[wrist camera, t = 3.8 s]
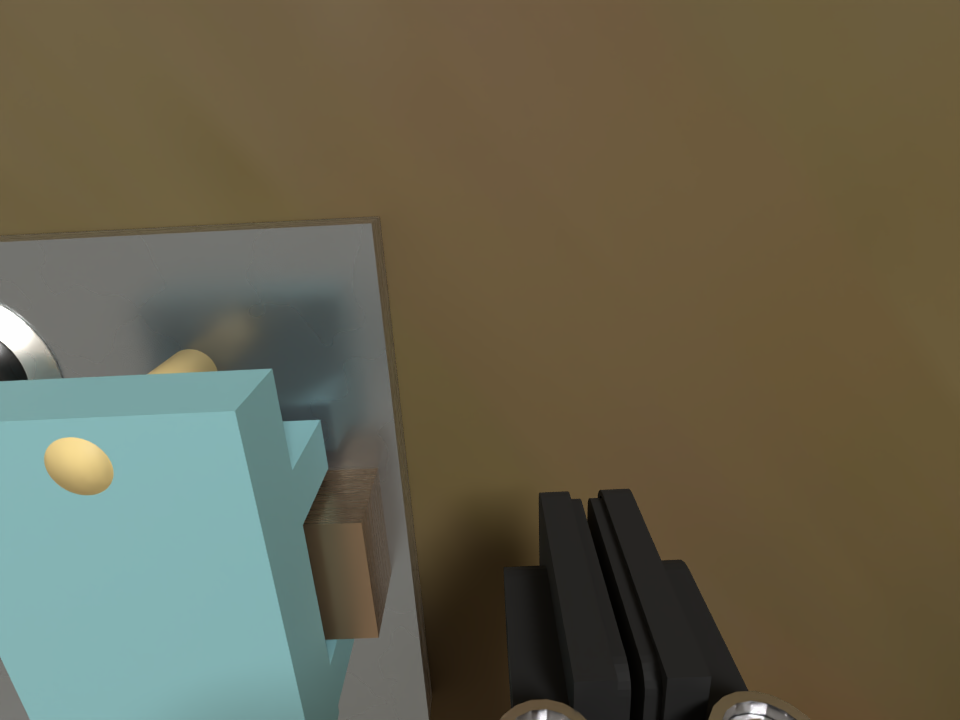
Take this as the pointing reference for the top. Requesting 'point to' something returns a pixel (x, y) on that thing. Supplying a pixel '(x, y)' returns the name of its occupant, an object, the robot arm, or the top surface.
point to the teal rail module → (162, 549)
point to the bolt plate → (299, 383)
